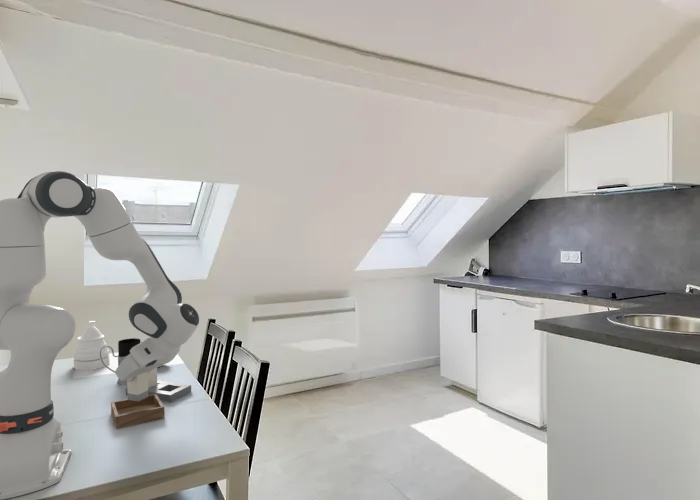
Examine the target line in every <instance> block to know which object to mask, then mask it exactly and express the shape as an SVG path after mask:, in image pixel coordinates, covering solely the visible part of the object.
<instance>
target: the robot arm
mask: <svg viewBox="0 0 700 500" xmlns="http://www.w3.org/2000/svg"><path fill="white" fill-rule="evenodd" d="M64 217H75V218H76V219H77V220H78V221H79V222H80V223H81V225H82V226H83V228H84V230H85V232H86V235H87V236H88V238H89V240H90V243H91V244H92V246H93V248H94V249H95V251H96V252H97V254H99V256H101V257H103V258H105V259H108V260H110V261H111V260H112V261H128V262H130V263H131V264H133V266H135V269H136V270H137V272H138V273H139V275H140V277H141V278H142V280H143V281H144V283H145V285H146V292H145V293H144V295H142V296H141V297H140V298H138V300H137V301H136V302H134V304H133V305H132V306H130V308H129V309H128V319H129V321H130V324H131V325H132V326H133V327H134V328H135V329H136V330H138V331H139V332H141V333H142V334H145V335H146V336H148V337H147V338H146V339H144V340H143V341H140V344H138V345H136V346H134V347H132V348H131V350H130V353H131V354H129V355H128V356H127V357H126V358H125V359H124V360H123V361H122V362H121V364H120V365H119V366H118V365H117V368H115V370H114V371H115V373H114V374H116V375H115V376H118V377H117V378H119V379H120V380H121V381H125V380H127V382H131V381H133V379H134V378H135V376H137V375H140V374H142V373H145V372H147V371H148V373H149V372H150V371H151V370H153V369H154V368H157V369H158V368H159V366H160V367H163V366H165V365H166V364H169V363H170V362H172V361H173V360H174V358H175V357H176V356H177V355H178V354H179V352H180V349H181V346H182V345H184V344H185V343H186V342H188V340H189V339H190V338H191V337H192V335H194V333H195V331H196V330H197V328H198V326H199V323H200V316H199V314H198V311H197V310H196V309H195V308H194V307H193V306H192V305H191V304H188V303H182V301H183V297H182V293H181V291H180V288H178V286H177V285H176V284H174V282H173V281H172V280H171V279H170V278H169V277H168V276H167V274H166V272H165V270H164V268H163V267H162V265H161V264H160V261H159V260H158V258H157V257H156V255H155V253H154V252H153V250H152V248H151V247H150V245H149V244H148V243H147V241H146V240H145V239H143V238H142V237H141V235H140V234H139V232H138V231H137V229H136V227H135V225H134V224H133V221H132V219H131V217H130V215H129V214H128V212H127V210H126V208H125V206H124V205H123V203H122V202H121V200H120V198H119V197H118V196H117V195H116V193H115V192H114V191H113V190H111V189H110V188H107V187H95V188H94V187H91V186H90V185H89V184H87V183H86V182H85V181H83V180H82V179H81V178H79V177H78V176H76V175H75V174H73V173H70V172H67V171H60V170H59V171H57V170H56V171H48V172H43V173H40V174H37V176H34V177H33V178H31V179H30V180H28V181H27V183H25V185H24V187H23V188H22V189H21V191H20V193H19V194H18V196H17V197H15V198H12V197H11V198H4V199H1V200H0V351H1V350H3V351H10V360H9V362H8V365H7V367H6V368H5V369H3V370H2V371H0V500H7V499H10V498H11V499H13V498H15V497H19V496H20V497H21V496H24V495H26V494H27V495H28V494H31V493H35V492H38V491H40V490H43V489H46V488H48V487H51V486H53V485H54V484H57V483H59V482H60V481H61V479H62V476H63V474H64V472H65V470H66V467H67V466H68V462H69V461H70V458H71V456H72V449H71V448H69V447H64V443H63V438H62V437H63V431H62V424H61V421H59V420H57V419H56V418H54V414H55V412H54V411H55V407H54V401H53V400H52V394H51V393H52V391H51V389H52V388H51V387H52V386H51V385H52V383H51V382H52V381H51V380H52V370H53V365H54V362H55V360H56V359H57V356H58V354H59V353H60V351H61V350H62V349H63V348H65V347H66V346H67V345H68V344H69V343H71V341H72V340H73V338H74V336H75V332H76V328H77V327H76V319H75V317H74V315H73V313H71V312H70V311H69V310H67V309H65V308H63V307H58V306H54V305H50V304H34V303H32V304H31V303H30V298H31V294H32V291H34V288H35V287H36V286H37V285H40V284H41V283H42V282H43V281H44V279H46V275H47V265H46V264H47V263H46V243H45V242H46V241H45V233H44V232H45V228H46V225H47V223H48V221H49V220H50V219H51V218H64ZM164 364H165V365H164ZM162 365H163V366H162Z"/></svg>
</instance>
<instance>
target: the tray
mask: <svg viewBox="0 0 700 500" xmlns="http://www.w3.org/2000/svg"><path fill="white" fill-rule="evenodd" d="M110 412H111V413H110V414H111V417H112V420H113V424H114V427H115V429H116V430H117V429H118V430H119V429H123V428H127V427H132V426H136V425H141V424H145V423H149V422H154V421H159V420H164V419H166V418H165V406H164V404H163V401H160V399H159V397H158V396H157V394H152V395H148V397H146V398H144V399H142V400H140V401H132V400H128V398H125V399H121V400H115V401H110Z"/></svg>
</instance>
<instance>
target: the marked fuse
mask: <svg viewBox="0 0 700 500" xmlns="http://www.w3.org/2000/svg"><path fill="white" fill-rule="evenodd" d="M126 388H127V391H128V396H127V399H128V400H132V401H140V400H142V399H144V398H146V397H148V371H147V372H145V373H142V374H140V375H137V376H135V378H134V379H133V381H131V382H127V384H126Z"/></svg>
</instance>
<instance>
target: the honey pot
mask: <svg viewBox="0 0 700 500" xmlns="http://www.w3.org/2000/svg"><path fill="white" fill-rule="evenodd" d="M96 321H97V320H89V321H88V326H87V327H86V328H85V329H84V330H83V332H82V333H81V336H78V337H77V338H76V341H77V342H78V343H77V345H76V349H75V352H74V354H73V368H74V369H75V370H78V371H87V370H95V369H96V370H97V369H100V368H104V367H105V366H104V365H103V363H102V361H101V359H100V350H101V348H103V347H105V346H107V343H106V341H105V339H104V338H105V335H104V334H103V333H102V332H101V331H100V330H99V329H98V328H97V327H96V326H95V325H96ZM101 357H102V360H103V362H104V363H105V365H106V366H107V367H108V366H109V365H110V363H111V362H110V350H109V347H105V348H103V349H102V350H101Z"/></svg>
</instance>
